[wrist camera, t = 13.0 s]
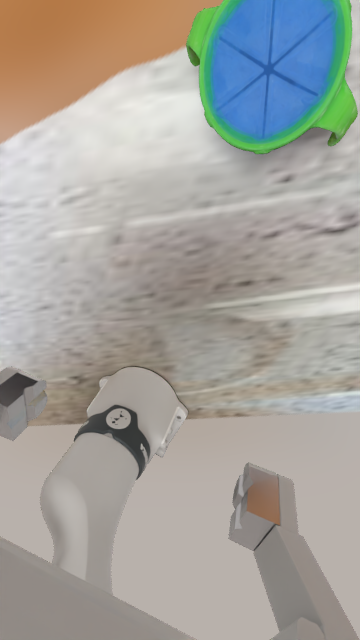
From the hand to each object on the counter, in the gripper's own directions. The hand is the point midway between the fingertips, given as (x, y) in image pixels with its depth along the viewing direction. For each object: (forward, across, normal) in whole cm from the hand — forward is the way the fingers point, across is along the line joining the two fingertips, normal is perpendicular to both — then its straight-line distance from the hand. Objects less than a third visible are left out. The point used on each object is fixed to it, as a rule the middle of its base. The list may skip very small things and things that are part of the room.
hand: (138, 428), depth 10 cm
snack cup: (+30, -1, +16) cm, 34 cm away
